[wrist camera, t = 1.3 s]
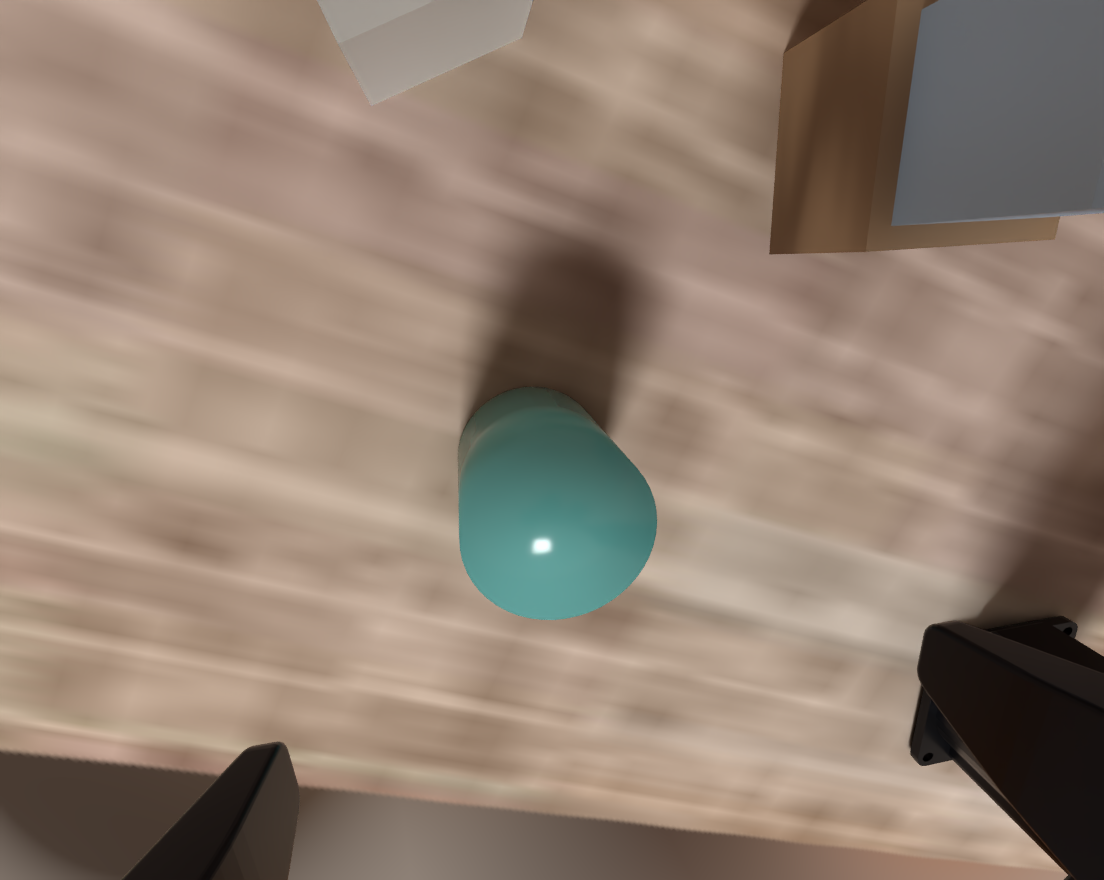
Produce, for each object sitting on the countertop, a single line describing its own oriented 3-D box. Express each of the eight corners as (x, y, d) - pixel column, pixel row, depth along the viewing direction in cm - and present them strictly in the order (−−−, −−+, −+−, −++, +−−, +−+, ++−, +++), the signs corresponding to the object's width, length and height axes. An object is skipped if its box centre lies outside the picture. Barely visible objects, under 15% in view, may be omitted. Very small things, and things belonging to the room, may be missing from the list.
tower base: (918, 244, 16) (1055, 239, 13) (768, 254, 16) (865, 251, 12) (947, 53, 15) (1114, -18, 11) (782, 54, 14) (899, -22, 10)
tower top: (1044, 217, 12) (1295, 198, 9) (891, 226, 12) (1091, 209, 8) (1090, 11, 11) (1410, -115, 7) (921, 9, 11) (1175, -129, 7)
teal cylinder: (601, 512, 17) (656, 603, 13) (466, 530, 17) (470, 633, 12) (598, 379, 16) (657, 428, 11) (449, 394, 15) (447, 452, 11)
